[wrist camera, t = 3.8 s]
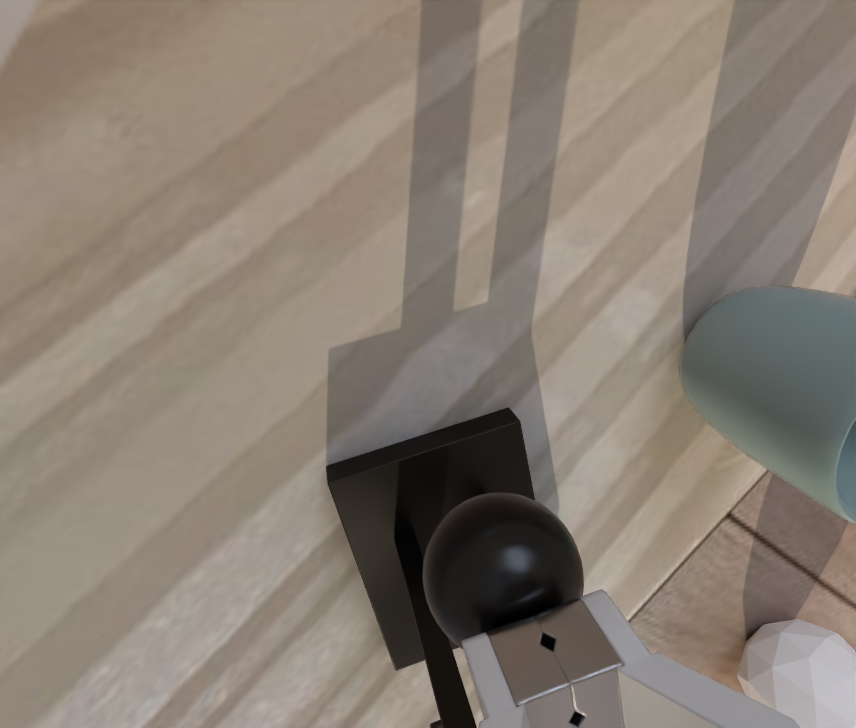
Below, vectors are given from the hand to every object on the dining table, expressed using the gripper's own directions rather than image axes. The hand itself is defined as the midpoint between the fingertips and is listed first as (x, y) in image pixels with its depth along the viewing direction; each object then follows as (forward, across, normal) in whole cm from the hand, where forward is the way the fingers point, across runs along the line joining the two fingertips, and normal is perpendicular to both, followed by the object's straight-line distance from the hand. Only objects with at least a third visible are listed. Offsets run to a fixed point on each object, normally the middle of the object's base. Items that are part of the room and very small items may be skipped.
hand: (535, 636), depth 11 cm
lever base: (+15, 0, +10) cm, 18 cm away
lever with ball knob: (+5, 0, +4) cm, 6 cm away
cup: (+15, -16, +4) cm, 22 cm away
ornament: (+15, -18, +26) cm, 36 cm away
